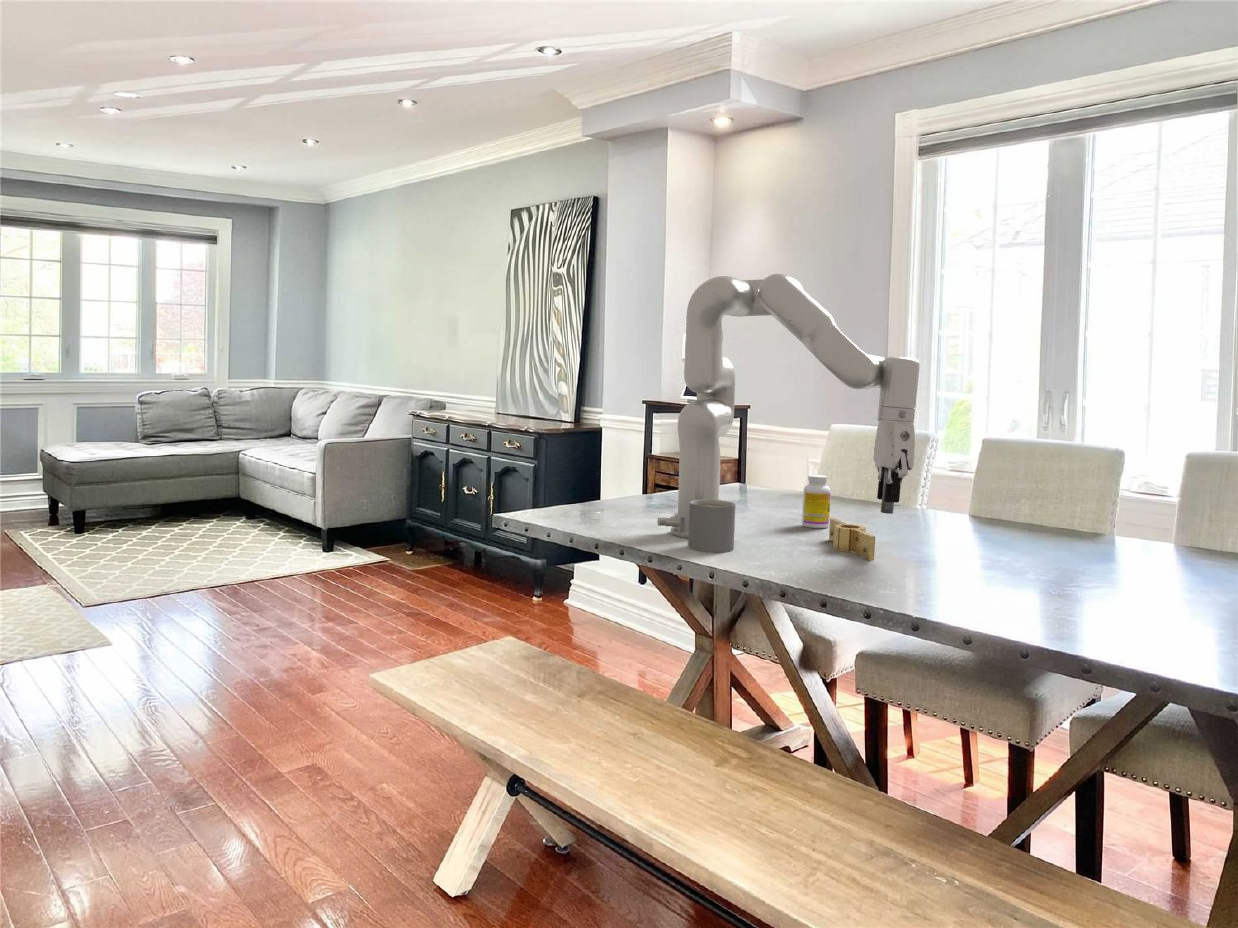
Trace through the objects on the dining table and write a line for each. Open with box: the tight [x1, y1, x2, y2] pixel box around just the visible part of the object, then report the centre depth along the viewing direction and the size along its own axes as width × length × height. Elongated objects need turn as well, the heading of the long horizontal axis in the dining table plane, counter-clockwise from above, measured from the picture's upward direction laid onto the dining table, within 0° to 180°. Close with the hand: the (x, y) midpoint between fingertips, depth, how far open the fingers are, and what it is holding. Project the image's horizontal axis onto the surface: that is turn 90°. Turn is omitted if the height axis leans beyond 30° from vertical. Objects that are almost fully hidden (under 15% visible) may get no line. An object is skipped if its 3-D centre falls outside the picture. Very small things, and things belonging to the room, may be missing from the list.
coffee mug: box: [687, 499, 736, 554], centre depth 205 cm, size 13×10×10 cm
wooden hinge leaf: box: [828, 517, 847, 543], centre depth 214 cm, size 7×2×5 cm, turn 9°
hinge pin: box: [880, 466, 899, 515], centre depth 200 cm, size 4×4×11 cm
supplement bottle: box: [801, 474, 832, 529], centre depth 233 cm, size 7×7×13 cm
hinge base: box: [833, 523, 876, 561], centre depth 203 cm, size 6×14×5 cm, turn 10°
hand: (887, 499), depth 200 cm, fingers closed on hinge pin, 2 cm apart
